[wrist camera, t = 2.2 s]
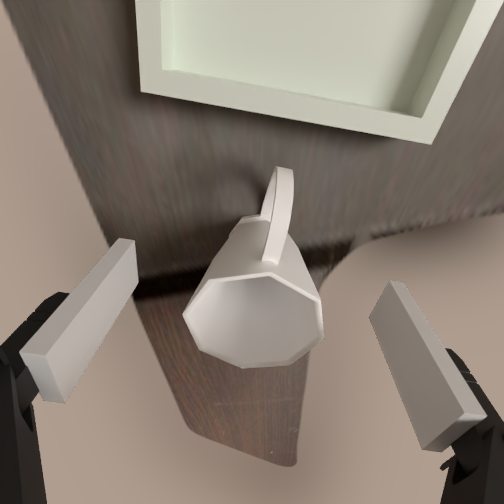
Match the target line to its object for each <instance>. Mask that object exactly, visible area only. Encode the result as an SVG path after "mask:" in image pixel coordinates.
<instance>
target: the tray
mask: <svg viewBox="0 0 504 504" xmlns="http://www.w3.org/2000/svg"><path fill="white" fill-rule="evenodd" d="M503 1H504V0H135V5H136V21H137V37H138V53H139V69H140V85H141V92H146V93H151V94H157V95H162V96H168V97H173V98H179V99H184V100H190V101H195V102H201V103H206V104H212V105H217V106H223V107H228V108H234V109H239V110H245V111H250V112H256V113H261V114H267V115H272V116H278V117H283V118H289V119H294V120H300V121H305V122H311V123H316V124H322V125H327V126H332V127H338V128H343V129H349V130H354V131H360V132H365V133H371V134H376V135H382V136H387V137H393V138H398V139H404V140H409V141H415V142H420V143H426V144H432V142H433V140H434V138H435V136H436V134H437V132H438V130H439V128H440V126H441V124H442V122H443V120H444V118H445V116H446V114H447V112H448V110H449V108H450V106H451V104H452V102H453V100H454V98H455V96H456V94H457V92H458V91H459V89H460V87H461V85H462V83H463V81H464V79H465V77H466V75H467V73H468V71H469V69H470V67H471V65H472V63H473V61H474V59H475V57H476V55H477V53H478V51H479V49H480V47H481V45H482V43H483V41H484V39H485V37H486V35H487V33H488V31H489V29H490V27H491V25H492V23H493V21H494V19H495V17H496V15H497V13H498V11H499V9H500V7H501V5H502V3H503Z"/></svg>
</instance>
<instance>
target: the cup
mask: <svg viewBox="0 0 504 504" xmlns="http://www.w3.org/2000/svg"><path fill="white" fill-rule="evenodd" d="M293 188H294V178H293V170H291V169H287V168H282V167H278V166H275V168H274V171H273V173H272V176H271V179H270V182H269V185H268V188H267V191H266V195H265V198H264V201H263V205H262V209H261V213H260V214H256V215H250V216H244V217H241V219H240V220H239V222H238V223H237V224H236V226H235V227H234V228H233V230H232V231H231V233H230V234H229V238H228V240H227V241H226V242H225V244H224V245H223V246H222V248H221V249H220V251H219V252H218V253H217V255H216V256H215V257H214V259H213V260H212V262H211V264H210V266H209V268H208V269H207V271H206V273H205V275H204V277H203V279H202V280H201V282H200V284H199V286H198V287H197V289H196V291H195V292H194V294H193V296H192V298H191V299H190V301H189V303H188V305H187V307H186V308H185V310H184V312H183V314H182V316H183V318H184V320H185V322H186V324H187V326H188V328H189V330H190V332H191V334H192V336H193V338H194V340H195V342H196V344H197V346H198V348H199V350H201V351H203V352H205V353H208V354H210V355H212V356H215V357H217V358H219V359H222V360H224V361H226V362H228V363H231V364H233V365H235V366H238V367H240V368H254V367H268V366H282V365H291V364H292V363H294V362H295V361H296V360H298V359H299V358H300V357H302V356H303V355H304V354H305V353H307V352H308V351H309V350H311V349H312V348H313V347H315V346H316V345H317V344H319V343H320V342H321V341H323V340H324V331H323V320H322V308H321V299H320V297H319V295H318V292H317V290H316V288H315V285H314V283H313V281H312V279H311V277H310V274H309V272H308V270H307V268H306V266H305V263H304V261H303V258H302V256H301V254H300V251H299V249H298V247H297V246H296V244H295V243H294V241H293V240H292V238H291V237H290V236H289V234H288V233H287V232H288V228H289V223H290V217H291V210H292V203H293Z"/></svg>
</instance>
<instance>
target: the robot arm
mask: <svg viewBox="0 0 504 504" xmlns="http://www.w3.org/2000/svg"><path fill="white" fill-rule="evenodd" d="M138 283H139V282H138V271H137V260H136V249H135V240H129V239H123V238H119V239H118V240H117V241H116V242H115V243H114V244H113V245H112V247H111V248H110V249H109V250H108V251H107V253H105V255H104V256H103V257H102V258H101V259H100V260H99V262H98V263H97V264H96V265H95V266H94V267H93V268H92V269H91V271H90V272H89V273H88V274H87V275H86V276H85V277H84V279H83V280H82V281H81V282H80V283H79V284H78V285H77V287H76V288H75V289H74V290H73V291H72V292H71V293H70V294H69V293H63V292H58V293H56V294H54V295H52V296H51V297H49V298H47V299H46V300H44V301H43V302H42V303H41V304H40V305H39V307H38V308H37V309H36V310H35V312H33V313H32V314H31V315H30V316H29V317H28V318H27V321H24V322H23V323H22V324H21V325H20V326H19V327H18V328H17V329H16V330H15V331H14V332H13V333H12V334H11V336H10V337H9V338H8V339H7V340H6V341H5V342H4V343H3V344H2V345H1V346H0V504H47V500H46V493H45V486H44V479H43V472H42V465H41V458H40V451H39V444H38V437H37V430H36V423H35V416H34V409H33V405H32V403H31V402H32V401H33V399H34V398H35V396H36V395H37V394H38V392H39V393H40V395H41V397H42V399H43V401H50V402H58V403H66V402H67V400H68V398H69V396H70V395H71V393H72V392H73V390H74V388H75V387H76V385H77V383H78V381H79V380H80V378H81V377H82V375H83V373H84V372H85V370H86V368H87V367H88V365H89V364H90V362H91V360H92V359H93V357H94V355H95V354H96V352H97V350H98V349H99V347H100V345H101V344H102V342H103V340H104V338H105V337H106V335H107V334H108V332H109V330H110V329H111V327H112V325H113V324H114V322H115V320H116V319H117V317H118V316H119V314H120V312H121V311H122V309H123V307H124V306H125V304H126V302H127V301H128V299H129V297H130V296H131V294H132V292H133V291H134V289H135V287H136V286H137V284H138ZM369 319H370V322H371V324H372V326H373V329H374V331H375V334H376V336H377V339H378V341H379V344H380V346H381V349H382V351H383V354H384V356H385V359H386V361H387V364H388V366H389V369H390V371H391V374H392V376H393V379H394V381H395V384H396V386H397V389H398V391H399V394H400V396H401V398H402V401H403V404H404V406H405V408H406V411H407V413H408V416H409V418H410V421H411V423H412V426H413V428H414V431H415V433H416V436H417V438H418V441H419V443H420V446H421V448H422V450H428V451H436V452H443V451H444V450H445V449H446V448H448V447H449V446H450V445H451V446H452V448H453V450H454V452H455V455H454V456H453V457H451V458H450V459H449V460H447V461H446V462H445V463H443V464H442V465H441V467H440V469H441V470H442V471H443V470H445V469H446V468H447V467H449V469H448V474H447V478H446V482H445V486H444V490H443V494H442V498H441V503H440V504H504V422H503V421H502V419H501V418H500V416H499V415H498V413H497V412H496V410H495V409H494V407H493V405H492V404H491V402H490V401H489V399H488V398H487V396H486V395H485V393H484V392H483V390H482V389H481V387H480V386H479V385H478V384H477V383H476V382H477V381H476V380H475V378H474V377H473V375H472V374H470V371H469V369H468V368H467V366H466V365H465V363H464V362H463V360H462V359H460V357H459V356H458V355H457V354H456V353H454V351H452V350H451V349H447V348H444V346H443V345H442V343H441V342H440V340H439V338H438V337H437V335H436V334H435V332H434V330H433V329H432V327H431V326H430V324H429V322H428V321H427V319H426V318H425V316H424V314H423V313H422V311H421V310H420V308H419V307H418V305H417V303H416V302H415V300H414V299H413V297H412V295H411V294H410V292H409V291H408V289H407V287H406V286H405V284H404V283H402V282H396V281H389V282H388V284H387V286H386V287H385V289H384V291H383V293H382V295H381V296H380V298H379V300H378V302H377V303H376V305H375V307H374V309H373V311H372V312H371V314H370V316H369Z"/></svg>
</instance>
